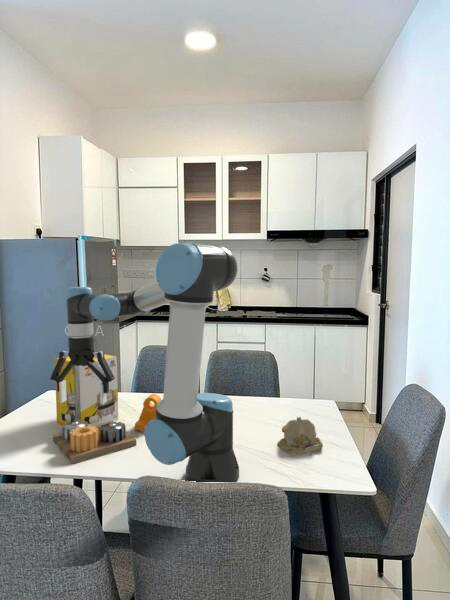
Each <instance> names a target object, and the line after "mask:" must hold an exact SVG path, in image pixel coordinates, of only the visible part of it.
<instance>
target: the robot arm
mask: <svg viewBox="0 0 450 600" xmlns="http://www.w3.org/2000/svg"><path fill="white" fill-rule="evenodd" d="M155 266H156V267H155V281H154V282H152V283H149V284H146V285H144V286H142V287H140V288H138V289H135V290H132V291H130V292H117V293H101V294H100V293H97V294H96V293H94V294H93V289H92V287H90V286H75V287H74V286H72V287H69V288H67V290H66V299H65V300H66V314H67V315H66V317H67V336H68V340H67V341H68V350H69V351H67V350H65V349H64V350H61V351H59V352H58V358H59V359H58V362H57V364H56V366H55V365H54V369H53V370H52V373H51V375H50V380H51V381H56V382H57V391H58V392H60V403H63V402H64V401H66V400H67V397H66V380H64V378H65V377H66V375H67V374H68V373H69V371H70V370H71V369H72V368H73V366H74V365H76V366H80V365H81V366H86V365H87V366H88V367H89V368H91V369H92V371H93V372H94V373H95V374H96V375H97V377H98V378H99V379H100V380H101V381H102V383H101V384H100V397H101V404H104V403H106V402H107V396H106V393H108V392H109V382H111V381H112V380H114V379H115V377H114V375H113V373H112V371H111V369H110V367H109V365H108V363H107V361H106V359H105V357H104V354H105V352H104V351H103V350H100V351H97V352H95V350H94V348H95V338H94V320H98V321H102V322H103V321H112V320H114V319H115V318H117V319H118V318H123V317H132V316H133V317H134V316H142V315H146V314H147V315H148V314H149V313H150V312H151V311H152V310H154V309H156V308H157V309H158V308H159V307H162V306H164V305H169V315H168V316H169V318H168V328H167V329H168V330H167V344H166V358H165V368H164V369H165V371H164V382H163V385H164V386H163V397H162V398H161V401H160V402H159V403H158V404H157V406H156V417H155V419H152V420H151V421H150V422H149V423H148V424H147V425H146V427H145V432H144V440H145V443H146V447H147V449H148V450H149V452H150V454H151V455H152V456H153V457H154V459H155V460H156V461H158V462H159V463H161V464H163V465H167V466H170V465H171V466H172V465H175V464H178V463H180V462H183V461H184V460H186V459H187V458H188V460H187V464H186V467H185V479H186V481H187V480H188V481H196V482H235V483H236V482H237V481H238V480H239V478H240V467H239V466H240V465H239V463H238V461H237V457H236V453H235V451H234V410H233V409H234V407H233V401H232V399H231V398H230V397H229V396H227V395H224V394H219V393H213V392H201V393H199V390H200V375H201V365H202V353H203V345H204V344H203V343H204V332H205V321H206V320H205V319H206V310H207V308H208V307H209V306H210V305H212V304H213V302H214V301H213V300H214V292H217V291H222V290H224V289H226V288H229V287H230V286H231V285H232V284H233V282H234V281H235V279H236V278H237V274H238V263H237V259H236V257H235V256H234V254H233V253H232V251H230V250H229V249H228V248H226V247H225V246H223V245H219V244H203V243H196V242H195V243H194V242H178V243H172V244H170V245H169V246H167V247H166V248H165V250H163V251H162V252H161V253H160V255H159V257H158V260H157V262H156V264H155ZM68 356H69V358H70V359H71V360H70V362H69V363H68V364H67V366H66V367H65V369H64V370H63V371H62V373H61V374H60V371H61V369H62V367H63V365H64V362H65V360H66V358H67V357H68ZM94 357H96V359H98V362H99V364H100V366H101V368H102V370H103V371H102V370H101V369H100V367H99V366H98V365H97V364H96V361H95V360H94V359H93V358H94ZM59 374H60V375H59ZM56 382H55V383H56ZM188 481H187V482H188Z"/></svg>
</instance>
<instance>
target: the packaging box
mask: <svg viewBox="0 0 450 600" xmlns="http://www.w3.org/2000/svg"><path fill="white" fill-rule="evenodd" d="M104 357H105V359H106V361H107V363H108V365H109V367H110V369H111V371H112V373H113V375H114V377H115V379H114V380H112V381H111V382H109V392H108V393H106V396H107V402H106V403H104V404H101V397H100V384H101V383H102V381H101V380H100V379H99V378H98V377H97V375H96V374H95V373H94V372H93V371H92V369H91V368H89V367H88V366H87V365H86V366H81V365H80V366H76V365H74V366H73V368H72V369H71V370H70V371H69V373H68V374H67V375H66V377H65V378H64V380H66V397H67V400H66V401H64V402H63V403H60V392H58V391H57V382H56V381H55V380H54V381H55V400H56V401H55V403H56V406H55V407H56V423H57V424H59V425H61V426H62V425H64V423H66V422H68V423H69V422H70V421H71V414H73V413H74V414H75V421H76V420H80V421H82V420H85V422H86V421H87V422H88V426H92V425H96V424H100V423H104V422H108V421H113V422H116V421H117V420H119V393H118V392H119V391H118V390H119V389H118V388H119V387H118V358H117V356H116V355H111V354H106V353H104ZM58 359H59V357H55V358H54V367H55V366H56V364H57V362H58ZM93 359H94V360H95V361H96V364H97V365H98V366H99V367H100V369H101V370H102V368H101V366H100V364H99V362H98V359H96V357H94V358H93ZM70 360H71V359H70V358H69V356H68V357H67V358H66V360H65V362H64V365H63V367H62V369H61V371H60V374H61V373H62V371H63V370H64V369H65V367H66V366H67V364H68V363H69V362H70ZM102 371H103V370H102ZM60 374H59V375H60Z"/></svg>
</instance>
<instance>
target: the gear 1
mask: <svg viewBox="0 0 450 600" xmlns="http://www.w3.org/2000/svg"><path fill="white" fill-rule="evenodd" d="M82 426H85V427H86V426H88V422H87V421H86V422H85V420H82V421H80V420H76V421H75V414H74V413H73V414H71V421H70V422H69V423H68V422H66V423H64V425H62V424H61V433H62V439H63V440H65V441H69V440H70V432H71V430H72V429H75V428H77V427H79V428H80V427H82Z"/></svg>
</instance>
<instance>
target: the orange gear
mask: <svg viewBox="0 0 450 600" xmlns="http://www.w3.org/2000/svg"><path fill="white" fill-rule="evenodd" d="M84 432H86V433H84ZM70 445H71V449H72V450H73V451H75V450H76V451H77V452H80V451H87V450H89V449H90V450H92V449H94V447H97V446H98V428H97V427H95V426H93V427H92V426H86V427H85V426H82V427H80V428H79V427H77V428H75V429H72V430H71V432H70Z"/></svg>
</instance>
